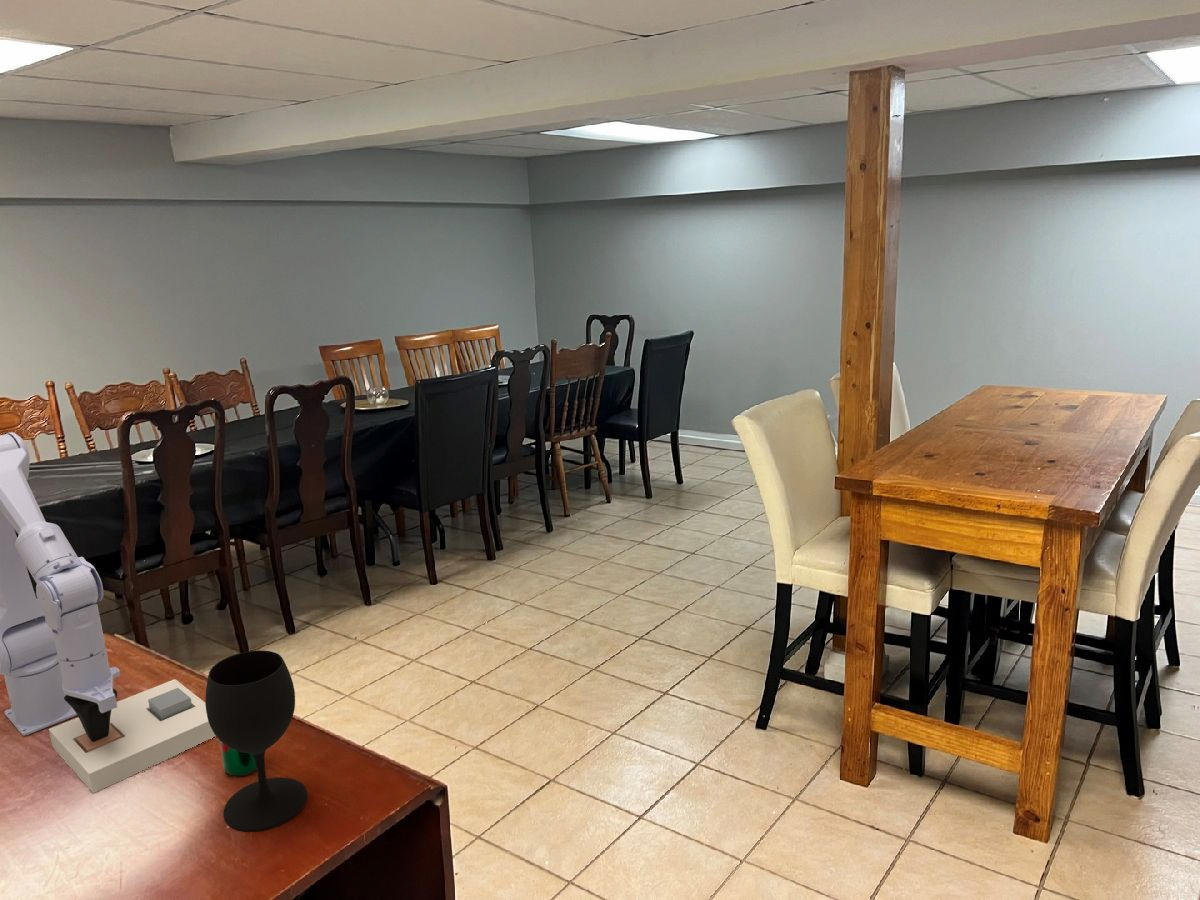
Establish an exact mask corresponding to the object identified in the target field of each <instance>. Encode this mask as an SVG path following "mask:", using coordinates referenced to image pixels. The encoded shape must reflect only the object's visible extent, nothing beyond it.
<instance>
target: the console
mask: <svg viewBox="0 0 1200 900" xmlns="http://www.w3.org/2000/svg"><path fill="white" fill-rule="evenodd" d="M176 688H179V689H180V690H181V691H183V692H184V693H185V694H186V695H188V696H189V697H190V698H191V704H192V708H191V709H189V710H186V711H184V712H182V713H179V714H177V715H175V716H172V717H170V718H167V719H165V720H163V721H160V720H159V719H158V718H157V717H156V716H155V715H153V714H152V713H151V712H150V708H149V702H148V700H149V699H151V698H154V697H156V696H159V695H161V694H164V693H166V692H169V691H171V690H173V689H176ZM116 702H117V708H114V709H112V710H111V716H110V725H111V726H112V727H113V728H114V729H115V730H116V731H117V732H118V733H119V734H120V735H121V736H122V738H120V739H118V740H116V741H113V742H111V743H109V744H106V745H104V746H102V747H99V748H97V749H95V750H92V751H90V752H87V753H85V752H84V751H83V750H82V749H81V747H80V746H79V745H78V743H77V738H78V737H81V736H83V735H85V734H86V732H85V730H84V728H83V725H82V723H81V721H80V719H79V717H78V716H77V717H75V718H73V719H71V720H68V721H65V722H63V723H60V724H57V725H55V726H51V728H49V729H48V732H49V733H48V734H49V737H50V741H51V747H52V749H54V751H55V752H56V753H57V754H58V755H59V756H60V757H61V759H62V760H63V759H64V760H65V761H64V762H65V763H66V764H67V765H68V766H69V767H71V768H70V769H71V770H72V769H73V770H72V771H73V772H74V773H75V775H76V776H77V777H78V778H79V779H80V780H81V781H82V782H83V784H84V785H85V786H86V787H87V788H88V790H89V791H90V792H91V793H92V794H94V793H98V792H99V791H101V790H103V789H106V788H107V787H110V786H113V785H115V784H117V783H119V782H121V781H123V780H125V779H127V778H130V777H132V776H134V775H136V774H139V773H140V772H142V770H143V771H145V770H148V769H149V768H148V767H150V768H152V767H154V766H156V765H158V764H160V763H163V762H165V761H167V760H169V759H171V758H173V756H174V757H176V756H178V755H180V754H182V753H185V752H186V751H185V750H187V749H189V748H191V749H193V748H195V747H197V746H196V745H198V744H200V745H201V743H202V742H204V741H206V740H208V739H211V738H213V737H214V736H216V735H215V734H214V732H213V730H212V729H211V727H210V724H209V722H208V718H207V713H206V704H205V701H204V700H202V699H201V698H200V697H199V696H197V694H195V693H194V692H192V691H191V690H190V689H188V688H187V687H186V686H184V684H182V683H181V682H179V680H177V679H176V678H174V679H172V680H170V681H167V682H164V683H161V684H159V685H156V686H154V687H151V688H149V689H146V690H143V691H141V692H138V693H137V694H134V695H132V696H129V697H128V696H127V697H126V698H124V699H121V700H118V701H116ZM213 739H214V738H213ZM211 740H212V739H211ZM206 742H207V741H206ZM204 743H205V742H204ZM202 744H203V743H202ZM194 746H195V747H194ZM198 746H199V745H198ZM192 747H193V748H192ZM189 750H190V749H189ZM184 751H185V752H184ZM187 751H188V750H187ZM181 752H182V753H181ZM179 753H180V754H179ZM168 758H169V759H168ZM162 761H163V762H162ZM153 765H154V766H153ZM138 772H139V773H138Z"/></svg>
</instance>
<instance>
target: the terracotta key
mask: <svg viewBox="0 0 1200 900" xmlns="http://www.w3.org/2000/svg"><path fill="white" fill-rule="evenodd" d="M120 738H122V736H121V735H120V734H119V733H118V732H117V731H116V730H115V729H114V728H113V727H112V726H111V725H110V727H109V735H108V736H107V737H105V738H102V739H100V740H97V741H95V742H92V741H91V740H90V738H89V737H88V735H87V734H85V735H83V736H81V737H78V738H77V743H78V745H79V746H80V747H81V749H82V750H83V751H84V752H85V753H87V752H90V751H92V750H95V749H97V748H99V747H102V746H104V745H106V744H109V743H111V742H113V741H116V740H118V739H120Z"/></svg>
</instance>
